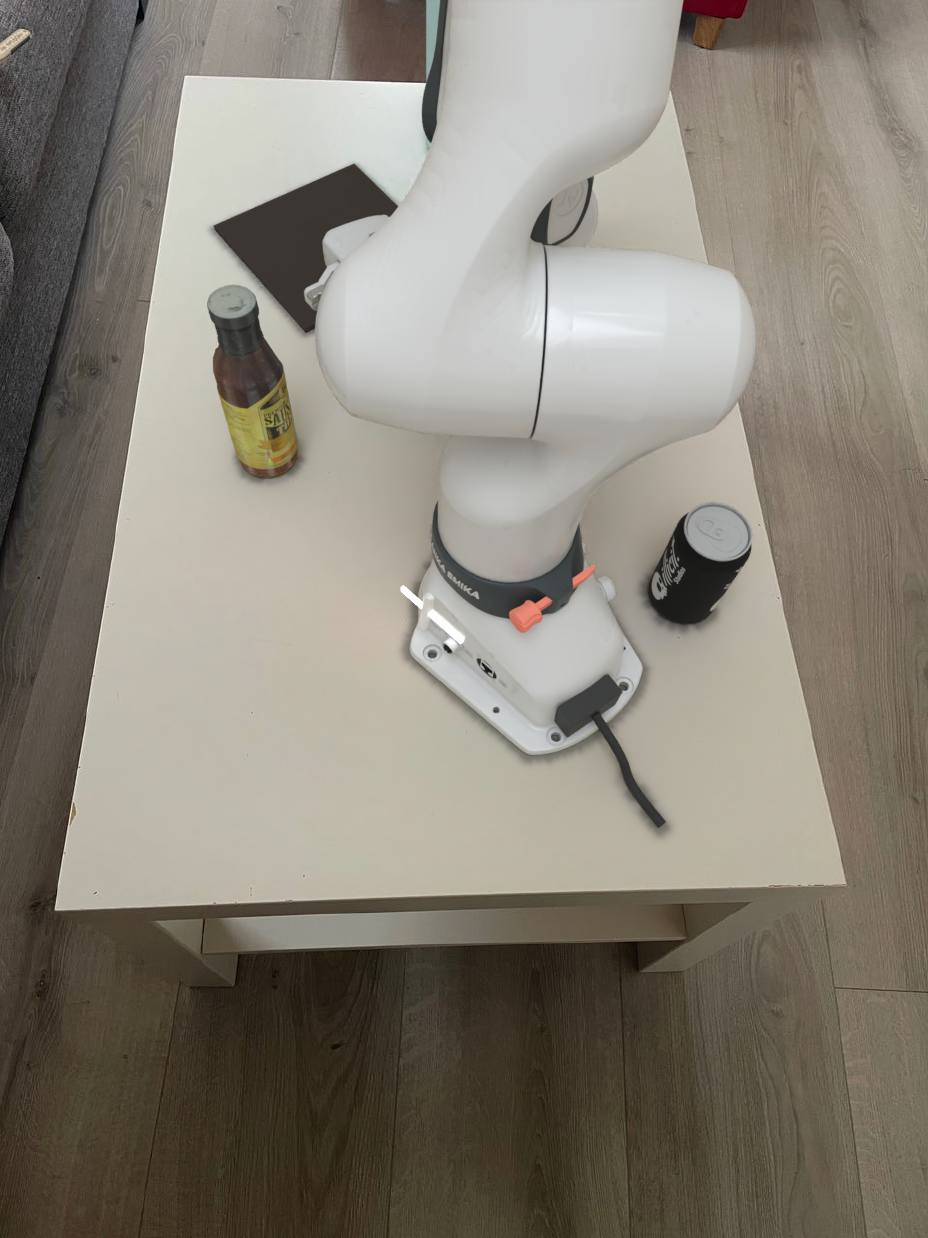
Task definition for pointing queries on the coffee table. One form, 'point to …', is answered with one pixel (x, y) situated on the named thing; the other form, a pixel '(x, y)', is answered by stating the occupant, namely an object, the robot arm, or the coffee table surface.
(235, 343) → the sauce bottle
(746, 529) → the beverage can
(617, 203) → the coffee table surface
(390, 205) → the mat
